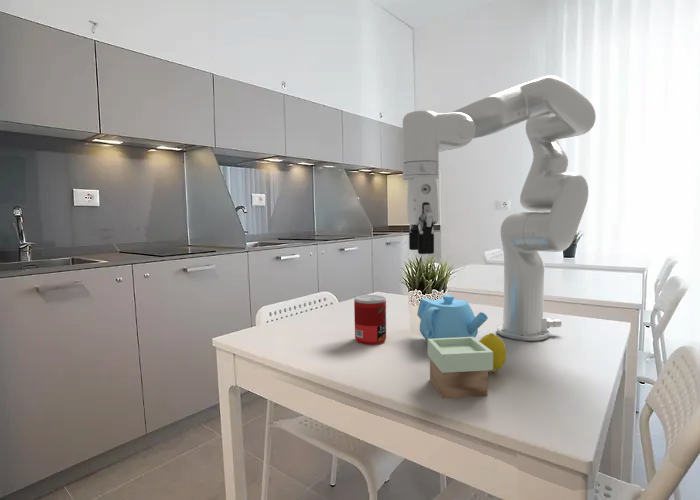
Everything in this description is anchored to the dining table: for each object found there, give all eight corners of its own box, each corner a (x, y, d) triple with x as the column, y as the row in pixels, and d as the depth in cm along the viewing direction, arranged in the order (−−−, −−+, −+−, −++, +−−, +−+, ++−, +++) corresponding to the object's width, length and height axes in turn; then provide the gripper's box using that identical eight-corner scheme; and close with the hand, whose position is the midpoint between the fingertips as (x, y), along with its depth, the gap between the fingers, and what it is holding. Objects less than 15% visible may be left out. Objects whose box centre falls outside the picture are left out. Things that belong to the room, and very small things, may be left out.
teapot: (397, 341, 104) (396, 295, 103) (439, 329, 114) (439, 286, 113) (464, 362, 88) (465, 308, 87) (506, 346, 99) (507, 297, 98)
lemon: (502, 380, 79) (503, 339, 78) (473, 374, 82) (473, 334, 81) (508, 370, 83) (509, 331, 83) (480, 365, 86) (481, 328, 86)
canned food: (384, 346, 100) (384, 301, 99) (352, 344, 102) (351, 300, 101) (387, 336, 108) (387, 295, 107) (357, 335, 109) (357, 294, 108)
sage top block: (473, 352, 80) (473, 336, 80) (493, 370, 71) (493, 352, 71) (427, 355, 79) (427, 338, 79) (441, 372, 70) (441, 354, 70)
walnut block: (470, 378, 80) (470, 353, 80) (487, 397, 72) (487, 369, 72) (429, 381, 79) (429, 355, 79) (442, 399, 71) (442, 371, 71)
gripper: (449, 167, 80) (449, 255, 81) (428, 175, 97) (428, 248, 99) (410, 167, 80) (411, 256, 81) (396, 175, 97) (397, 248, 98)
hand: (420, 251), depth 90 cm, fingers open, 9 cm apart
